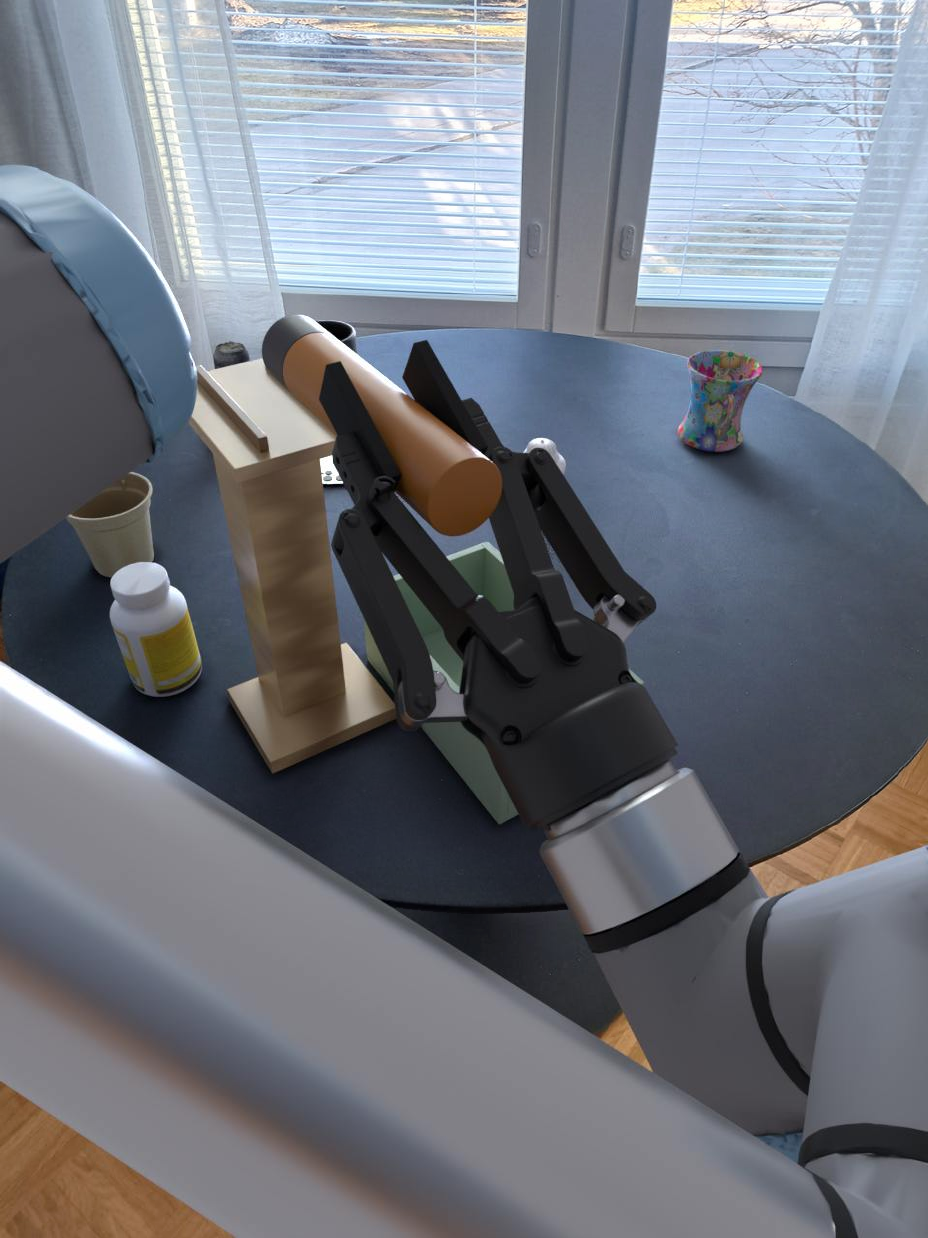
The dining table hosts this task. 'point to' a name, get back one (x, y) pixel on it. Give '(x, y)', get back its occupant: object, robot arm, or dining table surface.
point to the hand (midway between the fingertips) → (373, 370)
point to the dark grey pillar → (230, 354)
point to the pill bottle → (154, 630)
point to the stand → (283, 567)
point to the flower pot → (117, 525)
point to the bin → (452, 738)
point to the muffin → (550, 448)
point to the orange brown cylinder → (391, 428)
